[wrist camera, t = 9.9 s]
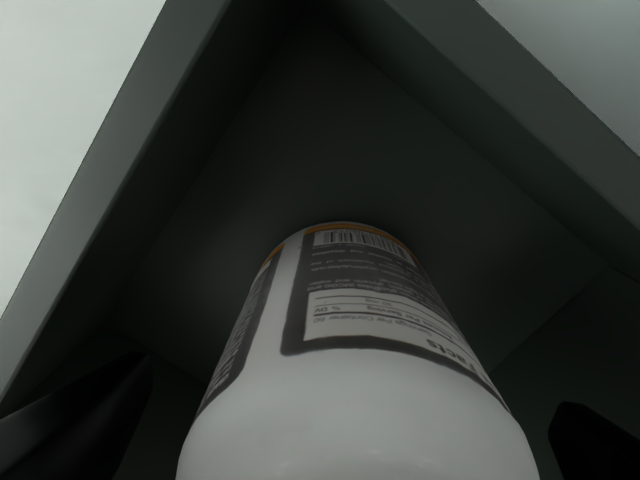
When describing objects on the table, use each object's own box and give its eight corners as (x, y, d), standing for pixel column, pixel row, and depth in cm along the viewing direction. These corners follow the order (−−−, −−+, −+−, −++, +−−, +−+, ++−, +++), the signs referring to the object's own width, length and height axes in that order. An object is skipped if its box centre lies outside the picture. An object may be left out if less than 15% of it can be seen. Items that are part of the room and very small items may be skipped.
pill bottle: (326, 392, 14) (321, 987, 4) (220, 282, 12) (-115, 818, 3) (459, 309, 13) (841, 901, 3) (357, 176, 11) (509, 538, 2)
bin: (370, 484, 16) (390, 666, 11) (84, 317, 14) (-70, 448, 8) (631, 253, 12) (856, 362, 7) (300, -36, 10) (267, -201, 5)
